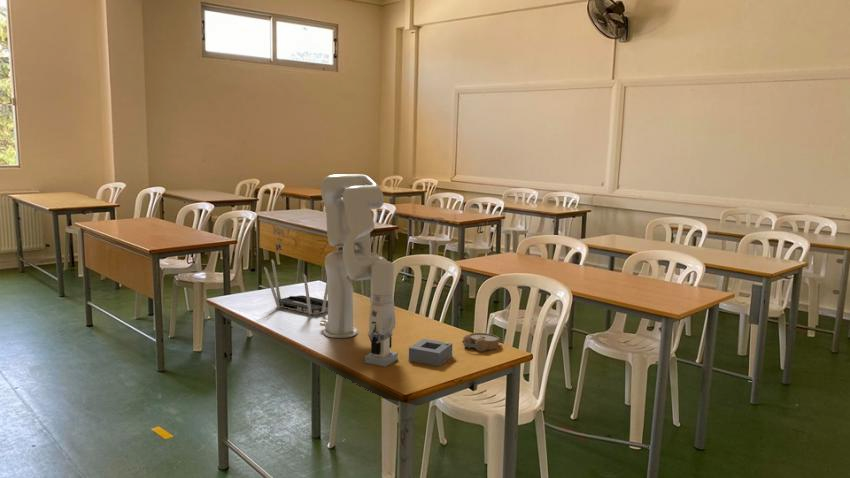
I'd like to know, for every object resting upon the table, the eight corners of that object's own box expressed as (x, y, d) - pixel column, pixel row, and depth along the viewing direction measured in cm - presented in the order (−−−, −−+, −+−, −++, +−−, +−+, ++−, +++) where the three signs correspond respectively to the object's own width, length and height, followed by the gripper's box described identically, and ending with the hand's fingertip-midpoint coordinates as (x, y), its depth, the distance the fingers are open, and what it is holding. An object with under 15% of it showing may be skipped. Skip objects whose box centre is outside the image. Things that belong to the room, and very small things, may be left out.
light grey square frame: (364, 362, 208) (364, 356, 208) (376, 355, 215) (377, 349, 215) (385, 366, 205) (385, 360, 204) (397, 359, 212) (397, 352, 211)
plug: (373, 361, 209) (373, 332, 207) (379, 358, 213) (379, 329, 211) (383, 363, 207) (383, 334, 206) (389, 360, 211) (389, 331, 209)
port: (408, 360, 211) (409, 346, 210) (423, 351, 220) (423, 337, 220) (438, 366, 206) (439, 352, 205) (452, 356, 216) (452, 342, 215)
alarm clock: (505, 338, 228) (482, 340, 217) (503, 351, 228) (480, 354, 217) (480, 331, 235) (456, 333, 224) (478, 344, 235) (454, 346, 224)
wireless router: (351, 310, 270) (351, 264, 267) (314, 322, 251) (314, 273, 248) (293, 298, 288) (293, 255, 285) (255, 309, 269) (254, 263, 265)
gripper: (378, 306, 197) (378, 360, 200) (404, 294, 213) (403, 345, 216) (358, 302, 200) (357, 356, 203) (384, 291, 216) (384, 341, 219)
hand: (381, 350), depth 209 cm, fingers open, 6 cm apart
